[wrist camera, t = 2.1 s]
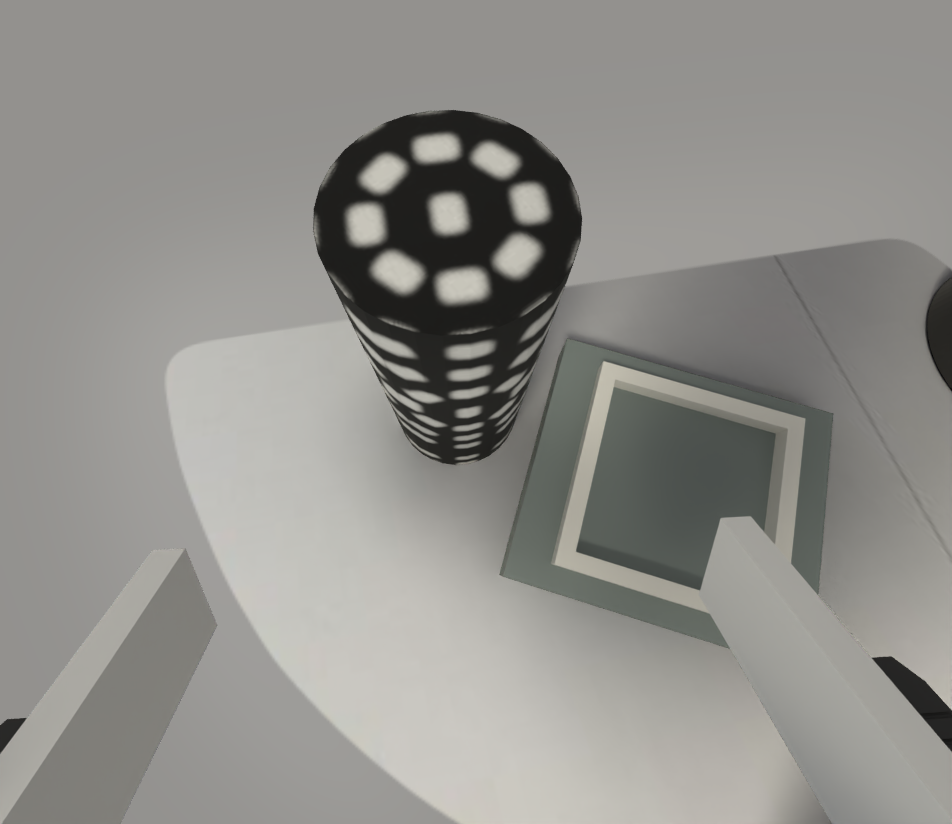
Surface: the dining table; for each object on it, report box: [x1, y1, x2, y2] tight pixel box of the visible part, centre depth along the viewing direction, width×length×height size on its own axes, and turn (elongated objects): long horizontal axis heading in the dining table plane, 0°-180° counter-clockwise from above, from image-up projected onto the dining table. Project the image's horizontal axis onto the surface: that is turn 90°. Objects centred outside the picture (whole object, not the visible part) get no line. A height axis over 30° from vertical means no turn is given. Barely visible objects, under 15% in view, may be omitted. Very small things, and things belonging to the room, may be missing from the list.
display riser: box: [500, 338, 833, 649], centre depth 30 cm, size 18×16×4 cm
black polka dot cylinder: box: [313, 110, 582, 465], centre depth 24 cm, size 8×8×20 cm
